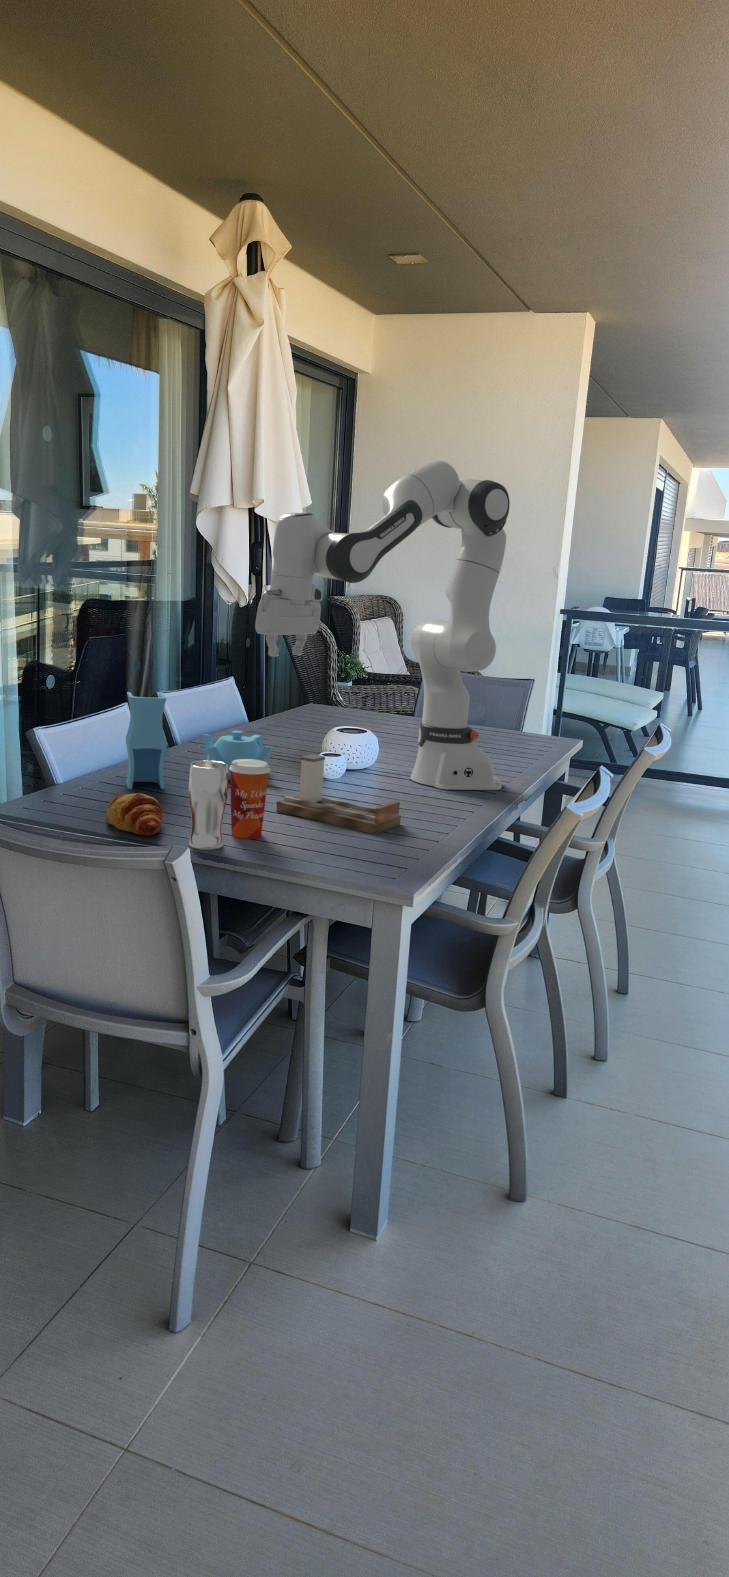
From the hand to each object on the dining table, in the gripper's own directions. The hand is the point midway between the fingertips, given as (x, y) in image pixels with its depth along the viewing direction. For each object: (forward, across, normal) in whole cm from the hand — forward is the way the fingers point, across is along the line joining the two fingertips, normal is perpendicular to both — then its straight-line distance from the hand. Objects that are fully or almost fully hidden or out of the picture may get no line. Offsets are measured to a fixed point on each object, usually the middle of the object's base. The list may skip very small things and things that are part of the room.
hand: (285, 655), depth 214 cm
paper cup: (+32, -30, -14) cm, 46 cm away
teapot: (+31, +8, +17) cm, 36 cm away
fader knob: (+28, -7, -13) cm, 32 cm away
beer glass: (+32, -41, -12) cm, 53 cm away
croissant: (+32, -39, +5) cm, 51 cm away
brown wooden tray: (+31, -7, -20) cm, 38 cm away
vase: (+32, -14, +25) cm, 43 cm away
